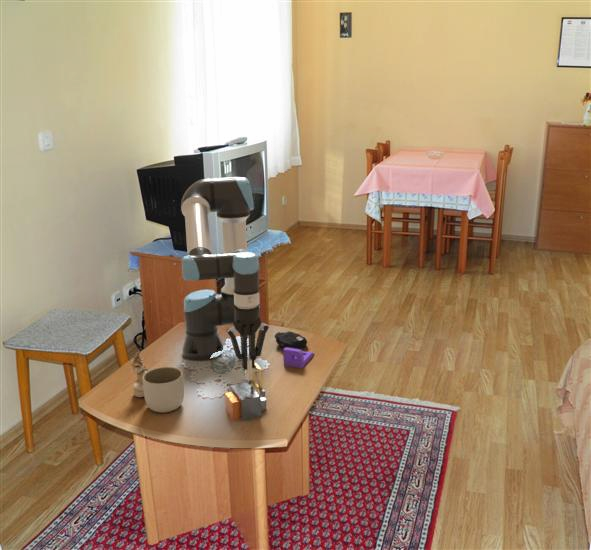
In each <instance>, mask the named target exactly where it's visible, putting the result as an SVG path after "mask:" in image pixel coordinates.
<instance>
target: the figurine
mask: <svg viewBox="0 0 591 550" xmlns="http://www.w3.org/2000/svg"><path fill="white" fill-rule="evenodd" d="M143 360H144V359H143V358H142V355H141V354H140V352H136V354H135V355H134V358H133V359H132V360H131V362H130V363H131V366H132V369H133V371H134V375H136V376H137V378H136V379H135V380H134V384H133V386H132V387H133V394H134V397H137V398H143V397H144V390H143V381H142V376H143V375H144V374H145V373H146V372H147V371H149V368H148V367H147V366H146V365H145V364H144V362H143Z"/></svg>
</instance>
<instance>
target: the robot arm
mask: <svg viewBox="0 0 591 550" xmlns="http://www.w3.org/2000/svg"><path fill="white" fill-rule="evenodd" d="M254 208H255V205H254V198H253V192H252V187H251V183H250V181H249V179H248V178H247V177H243V176H242V177H241V176H229V177H226V176H225V177H214V178H213V177H212V178H211V177H210V178H202V179H199V180H197V181H195V182H194V183H193V184H191V185H190V186H189V187H188V188H187V189H186V191H185V192H184V194H183V196H182V199H181V203H180V211H181V213H182V215H183V216H184V222H185V234H186V235H185V236H186V237H185V239H186V249H187V251H186V252H187V255H184V256H182V257H181V270H182V271H181V272H182V278H183V279H184V280H185V281H195V282H197V281H205V280H208V281H209V280H216V279H217V280H218V279H224V285H223V287H222V288H221V289H220V293H216V291H215V290H214V289H208V288H207V289H200V290H196V291H192V292H190V293H189V294H187V295H186V296H185V297H184V299H183V312H184V322H185V326H184V327H185V336H184V337H185V338H184V341H183V345H182V356H183V358H185V359H187V360H190V361H198V362H199V361H200V362H202V361H210V360H211V359H210V357H211V355H212V354H213V353H215V352H218V351H222V350H223V349H224V344H223V341H222V338H221V336H220V334H219V331H218V329H219V328H218V327H219V326H231V327H230V328H226V333H227V334H228V335H229V338H230V341H231V342H230V343H231V345H232V348H233V351H234V354H235V357H236V358H237V359H238V360H239V361H240V360H241V367H242V369H243V370H244V372H245V373H244V375H245V376H244V377H245V379H246V380H247V382H249V380H252V369H253V368H254V369H256V368H255V362H256V359H257V357H260V356H261V355H262V350H263V346H264V341H265V338H266V334H267V333H268V330H269V328H270V327H269V325H268V324H266V323H264V322H262V320H261V308H260V262H259V256H258V254H257V253H254V252H250V251H248V240H247V239H248V238H247V219H249V217H250V215H251V211H253V210H254ZM209 213H216V217H217V218H218V220H220V221H221V232H222V233H221V234H222V237H221V238H222V252H223V253H213V251H212V240H211V234H210V224H209ZM236 332H238V334H239V336H240V347H239V343H238V340H237V339H238V338H237V337H236V334H237V333H236ZM257 332H258V333H257ZM256 333H257V337H256Z"/></svg>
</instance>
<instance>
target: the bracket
mask: <svg viewBox="0 0 591 550" xmlns="http://www.w3.org/2000/svg"><path fill="white" fill-rule="evenodd" d="M314 355H315V352H311V351H310V352H309V351H304V350H302V349H294V348H287V347H285V348H284V347H283V357H282V358H283V366H288V367H292V368H299V369H302V368H303V367H305V366H306V364H307V363H308V362H309V361H310V360H311V359H312V358H313V357H314Z"/></svg>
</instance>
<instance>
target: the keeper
mask: <svg viewBox="0 0 591 550" xmlns="http://www.w3.org/2000/svg"><path fill="white" fill-rule="evenodd" d="M255 370H256V371H257V379H258V380H257V382H256V378H255ZM262 376H263V374H262V367H260V365H259V364H258V363H257V362H256V361H255V368H253V369H252V380H251V383H252V384H251V385H252V386H253V387H254V388H256V389H257V390H256V391H257V392H258V393H260V390H263V378H262Z"/></svg>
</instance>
